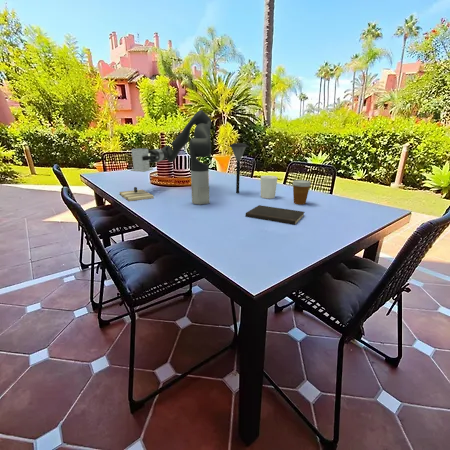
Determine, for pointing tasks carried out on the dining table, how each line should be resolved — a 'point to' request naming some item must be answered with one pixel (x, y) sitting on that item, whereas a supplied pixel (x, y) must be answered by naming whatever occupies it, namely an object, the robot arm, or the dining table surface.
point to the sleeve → (140, 160)
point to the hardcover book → (275, 214)
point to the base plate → (136, 195)
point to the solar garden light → (238, 159)
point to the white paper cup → (268, 186)
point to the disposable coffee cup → (300, 191)
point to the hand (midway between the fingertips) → (138, 158)
